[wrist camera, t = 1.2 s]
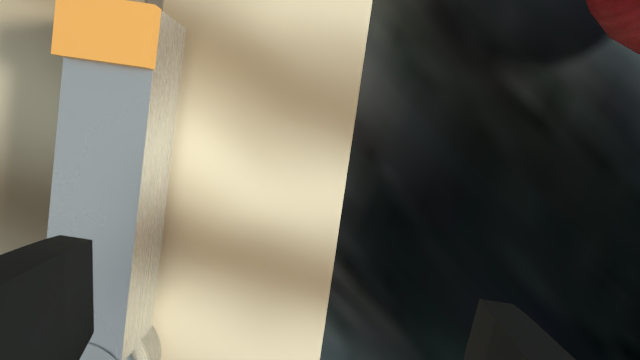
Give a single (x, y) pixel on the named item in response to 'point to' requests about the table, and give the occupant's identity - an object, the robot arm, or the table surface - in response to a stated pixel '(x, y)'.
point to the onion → (619, 20)
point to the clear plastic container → (116, 158)
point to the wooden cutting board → (217, 165)
